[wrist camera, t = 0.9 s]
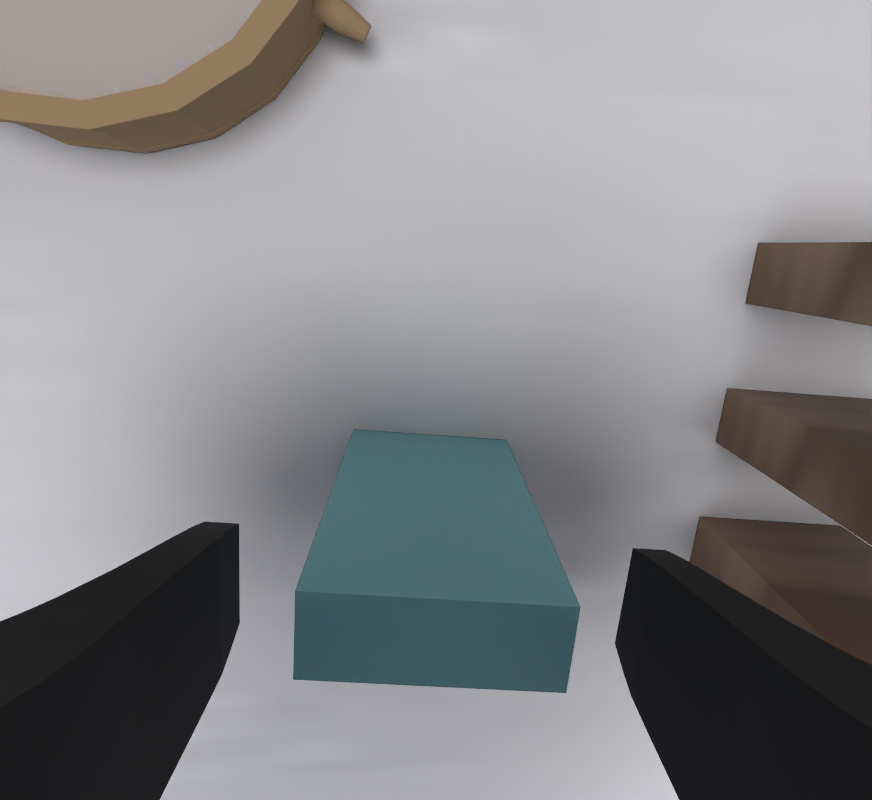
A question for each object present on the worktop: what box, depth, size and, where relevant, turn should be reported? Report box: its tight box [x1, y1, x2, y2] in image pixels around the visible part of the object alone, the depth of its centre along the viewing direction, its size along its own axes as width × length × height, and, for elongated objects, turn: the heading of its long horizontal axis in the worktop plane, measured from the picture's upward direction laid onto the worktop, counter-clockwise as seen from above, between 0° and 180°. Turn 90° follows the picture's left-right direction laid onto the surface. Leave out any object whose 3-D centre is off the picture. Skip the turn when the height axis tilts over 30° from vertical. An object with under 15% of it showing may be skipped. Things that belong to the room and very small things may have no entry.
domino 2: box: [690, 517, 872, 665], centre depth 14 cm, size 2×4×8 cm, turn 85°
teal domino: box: [293, 430, 580, 693], centre depth 13 cm, size 2×4×8 cm, turn 86°
